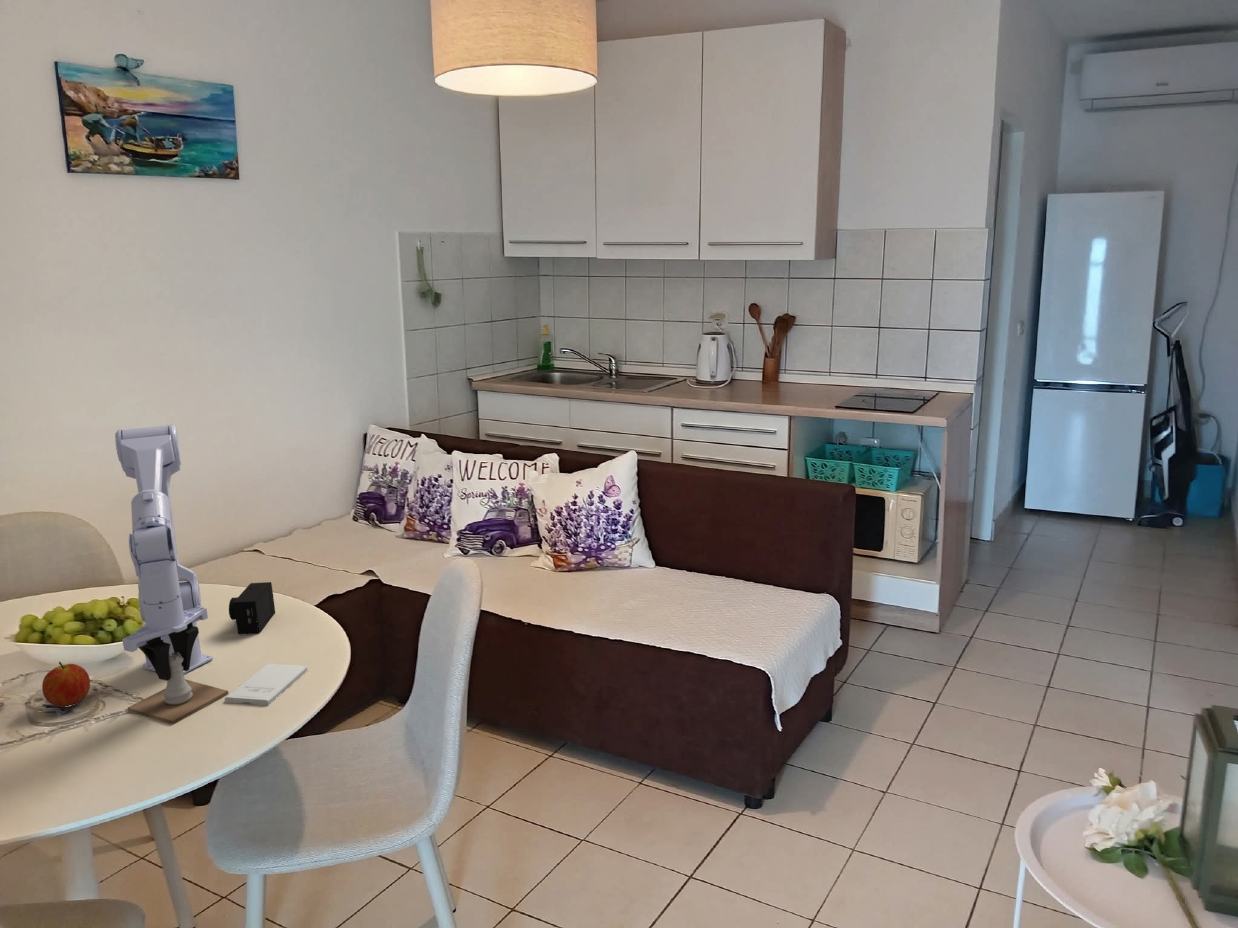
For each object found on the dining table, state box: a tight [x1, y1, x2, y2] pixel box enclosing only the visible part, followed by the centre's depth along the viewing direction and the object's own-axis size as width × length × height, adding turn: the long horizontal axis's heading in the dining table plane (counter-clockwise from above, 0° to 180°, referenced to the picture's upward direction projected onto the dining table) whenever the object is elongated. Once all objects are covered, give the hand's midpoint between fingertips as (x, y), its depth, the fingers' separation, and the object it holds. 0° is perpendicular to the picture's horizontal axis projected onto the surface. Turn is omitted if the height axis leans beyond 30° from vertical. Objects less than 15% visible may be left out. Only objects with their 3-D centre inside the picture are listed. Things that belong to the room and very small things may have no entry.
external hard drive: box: [224, 663, 308, 706], centre depth 163 cm, size 2×8×12 cm
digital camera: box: [228, 581, 276, 635], centre depth 189 cm, size 10×5×7 cm, turn 3°
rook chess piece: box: [164, 652, 193, 705], centre depth 157 cm, size 4×4×8 cm
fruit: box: [41, 661, 91, 708], centre depth 158 cm, size 7×7×8 cm
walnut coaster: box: [127, 678, 229, 725], centre depth 158 cm, size 11×11×1 cm
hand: (174, 673), depth 157 cm, fingers closed on rook chess piece, 3 cm apart
